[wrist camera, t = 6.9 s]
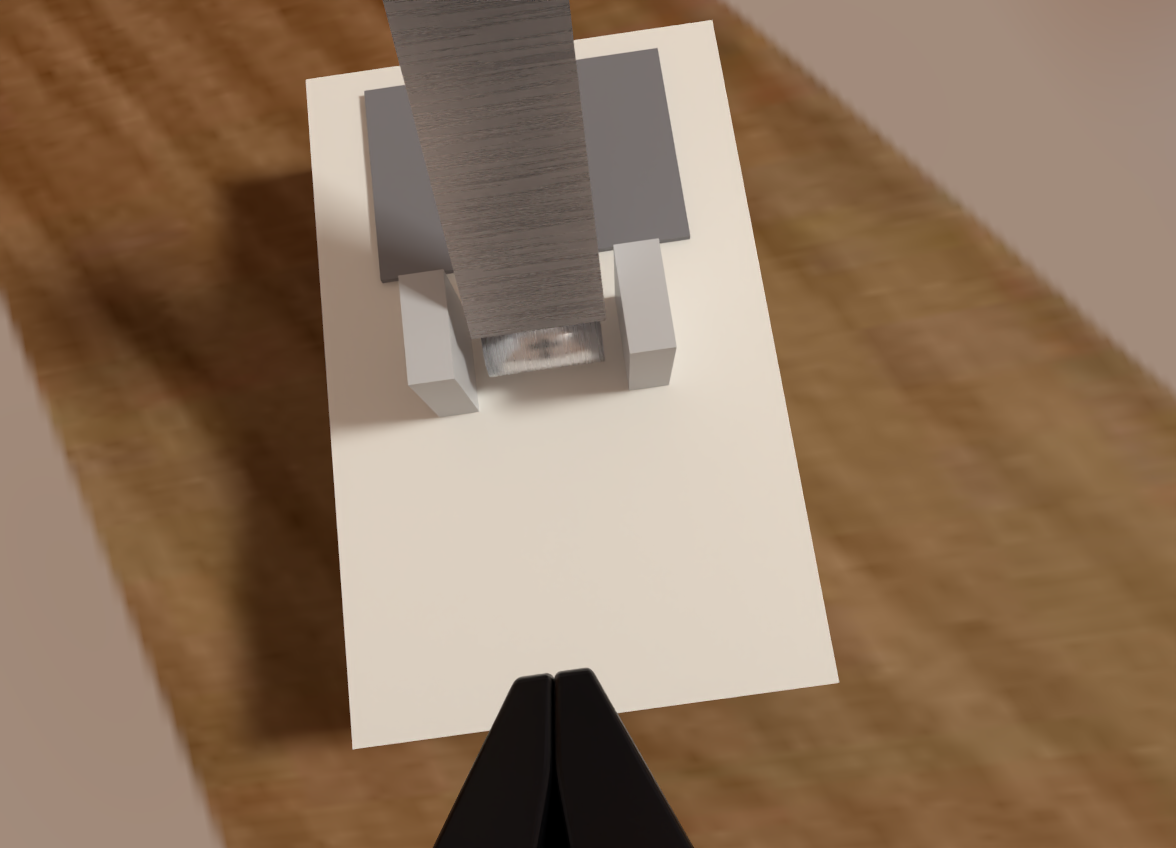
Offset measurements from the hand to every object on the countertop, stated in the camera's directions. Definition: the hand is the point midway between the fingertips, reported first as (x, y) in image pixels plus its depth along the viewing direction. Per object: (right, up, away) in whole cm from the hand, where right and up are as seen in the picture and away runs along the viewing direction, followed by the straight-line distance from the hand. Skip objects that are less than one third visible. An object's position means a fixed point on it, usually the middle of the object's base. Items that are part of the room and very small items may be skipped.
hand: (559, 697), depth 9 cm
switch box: (0, +4, +11) cm, 12 cm away
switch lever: (-1, +5, +7) cm, 8 cm away
